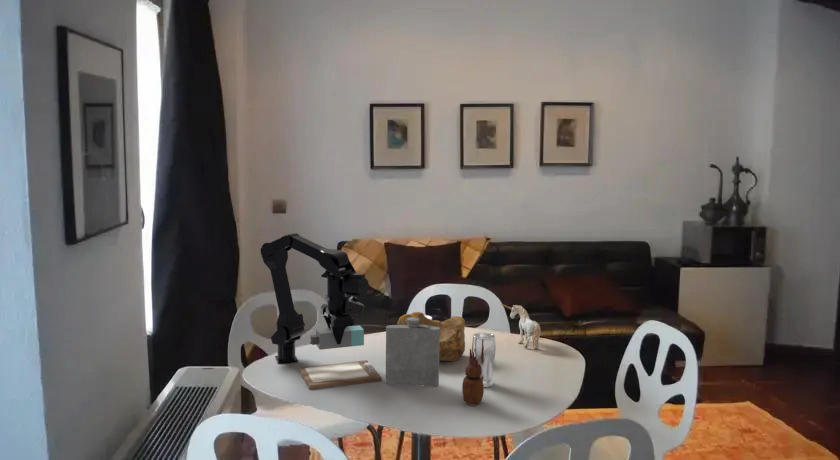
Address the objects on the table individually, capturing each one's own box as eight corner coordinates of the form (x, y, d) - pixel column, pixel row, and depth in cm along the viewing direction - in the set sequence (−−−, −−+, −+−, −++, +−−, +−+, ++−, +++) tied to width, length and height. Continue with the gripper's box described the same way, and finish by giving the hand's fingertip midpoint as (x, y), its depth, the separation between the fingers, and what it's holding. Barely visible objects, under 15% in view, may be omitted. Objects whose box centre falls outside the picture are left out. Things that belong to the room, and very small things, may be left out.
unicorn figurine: (514, 336, 248) (515, 301, 246) (551, 350, 232) (553, 313, 230) (499, 339, 244) (500, 303, 242) (536, 353, 228) (537, 316, 226)
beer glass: (493, 389, 195) (494, 339, 193) (469, 387, 196) (471, 338, 194) (495, 380, 201) (496, 333, 199) (472, 378, 203) (473, 331, 201)
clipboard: (299, 371, 207) (299, 364, 207) (366, 363, 215) (367, 357, 215) (309, 389, 192) (309, 382, 192) (381, 380, 200) (381, 373, 200)
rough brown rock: (393, 370, 212) (395, 326, 209) (396, 349, 228) (398, 308, 225) (465, 374, 212) (468, 330, 208) (463, 353, 228) (466, 312, 224)
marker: (309, 345, 206) (309, 329, 205) (359, 340, 212) (359, 325, 211) (313, 350, 201) (313, 334, 201) (363, 345, 207) (363, 329, 206)
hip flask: (384, 385, 197) (385, 319, 194) (386, 380, 201) (387, 316, 198) (438, 387, 196) (439, 321, 193) (438, 382, 200) (440, 317, 197)
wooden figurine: (460, 398, 188) (461, 347, 186) (480, 397, 188) (482, 346, 186) (464, 407, 181) (465, 354, 179) (484, 407, 181) (486, 354, 179)
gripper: (370, 297, 198) (370, 347, 200) (353, 284, 216) (353, 331, 218) (333, 300, 194) (334, 351, 196) (320, 286, 212) (320, 334, 214)
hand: (336, 341), depth 206 cm, fingers closed on marker, 5 cm apart
